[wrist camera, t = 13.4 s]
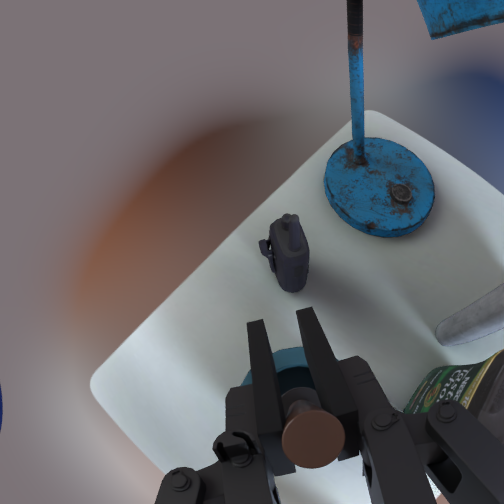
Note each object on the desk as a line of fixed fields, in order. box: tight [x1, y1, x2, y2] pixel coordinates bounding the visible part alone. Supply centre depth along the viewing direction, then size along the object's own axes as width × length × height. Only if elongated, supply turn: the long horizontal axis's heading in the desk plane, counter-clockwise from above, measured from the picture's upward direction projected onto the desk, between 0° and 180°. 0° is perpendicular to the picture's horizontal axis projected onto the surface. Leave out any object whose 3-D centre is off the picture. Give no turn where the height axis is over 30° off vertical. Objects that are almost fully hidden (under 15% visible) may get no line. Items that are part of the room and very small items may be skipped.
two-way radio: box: [259, 214, 309, 293], centre depth 32 cm, size 6×4×15 cm
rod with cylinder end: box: [281, 387, 345, 469], centre depth 15 cm, size 3×3×18 cm
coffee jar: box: [404, 349, 504, 445], centre depth 21 cm, size 10×8×19 cm
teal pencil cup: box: [241, 347, 339, 396], centre depth 29 cm, size 10×10×9 cm
